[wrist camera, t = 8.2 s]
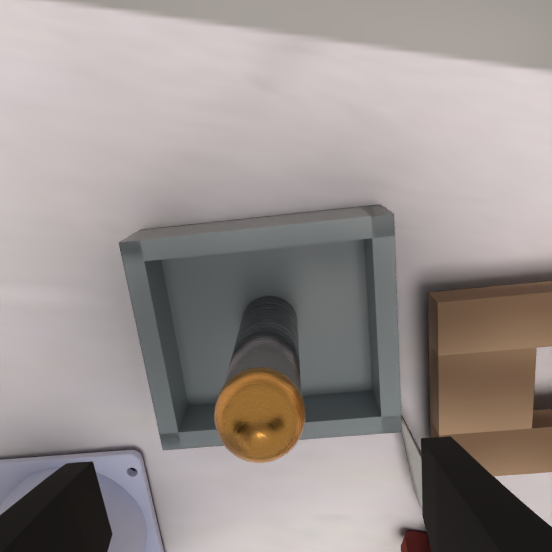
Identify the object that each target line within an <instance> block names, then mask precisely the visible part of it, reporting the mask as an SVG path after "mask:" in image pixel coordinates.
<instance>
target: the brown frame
mask: <svg viewBox="0 0 552 552" xmlns="http://www.w3.org/2000/svg"><path fill="white" fill-rule="evenodd" d="M428 307H429V370H430V432H431V438H433V437H447V436H451V437H452V438H453V439H454V440H455V441H456V442H457V443H459V444H460V445H461V446H462V447H463V448H464V449H465V450H466V451H467V452H468V453H469V454H470V455H471V456H472V457H473V458H474V459H475V460H476V461H478V462H479V463H480V464H481V465H482V466H483V467H484V468H485V469H486V470H487V471H488V472H489V473H490V474H491V475H493V476H502V475H516V474H531V473H545V472H552V409H542V410H533V400H534V383H535V365H536V348H537V347H548V346H552V281H544V282H533V283H523V284H512V285H501V286H491V287H480V288H469V289H459V290H448V291H437V292H428Z"/></svg>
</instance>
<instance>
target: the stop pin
mask: <svg viewBox="0 0 552 552" xmlns="http://www.w3.org/2000/svg"><path fill="white" fill-rule="evenodd" d="M305 418H306V410H305V404H304V400H303V397H302V394H301V379H300V359H299V339H298V320H297V315H296V312H295V310H294V308H293V307H292V306H291V305H290V304H289V303H288V302H287V301H286V300H284V299H282V298H280V297H277V296H262V297H259V298H257V299H255V300H253V301H252V302H251V303H250V304H249V305H248V306H247V307H246V309H245V310H244V313H243V316H242V320H241V323H240V327H239V331H238V335H237V338H236V342H235V346H234V350H233V353H232V357H231V361H230V365H229V368H228V372H227V376H226V380H225V383H224V387H223V388H222V389H221V391H220V393H219V395H218V398H217V400H216V404H215V410H214V421H215V427H216V430H217V433H218V436H219V438H220V439H221V441H222V443H223V444H224V446H225V447H226V448H227V449H228V450H229V451H230V452H231V453H233V454H234V455H235V456H237V457H239V458H241V459H243V460H246V461H249V462H254V463H265V462H270V461H274V460H276V459H278V458H280V457H282V456H284V455H285V454H287V453H288V452H289V451H290V450H291V449H292V448H293V447H294V446H295V445H296V443H297V442H298V440H299V438H300V437H301V434H302V432H303V429H304V425H305Z"/></svg>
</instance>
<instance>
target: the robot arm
mask: <svg viewBox="0 0 552 552" xmlns="http://www.w3.org/2000/svg"><path fill="white" fill-rule="evenodd" d="M421 461H422V510H423V519H424V523H425V527H426V530H427V534H428V538H429V541H430V545H431V549H432V552H552V527H551V526H550V525H548V524H547V523H546V522H545V521H544V520H542V519H541V518H540V517H539V516H538V515H537V514H535V513H534V512H533V511H532V510H531V509H530V508H529V507H527V506H526V505H525V504H524V503H523V502H522V501H520V500H519V499H518V498H517V497H516V496H515V495H514V494H512V493H511V492H510V491H509V490H508V489H507V488H506V487H505V486H503V485H502V484H501V483H500V482H499V481H498V480H497V479H496V478H495V477H494V476H493V475H491V474H490V473H489V472H488V471H487V470H486V469H485V468H484V467H483V466H482V465H481V464H480V463H479V462H478V461H476V460H475V459H474V458H473V457H472V456H471V455H470V454H469V453H468V452H467V451H466V450H465V449H464V448H463V447H462V446H461V445H460V444H459V443H457V442H456V441H455V440H454V439H453V438H452V437H451V436H447V437H433V438H421ZM130 468H135V469H136V470H137V471H133V470H131V469H130ZM0 552H164V550H163V545H162V541H161V536H160V532H159V528H158V523H157V519H156V515H155V510H154V506H153V502H152V497H151V493H150V488H149V484H148V480H147V475H146V471H145V467H144V462H143V458H142V456H141V454H140V453H139V452H137V451H135V450H121V451H108V452H95V453H82V454H69V455H56V456H43V457H30V458H17V459H4V460H0Z"/></svg>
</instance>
